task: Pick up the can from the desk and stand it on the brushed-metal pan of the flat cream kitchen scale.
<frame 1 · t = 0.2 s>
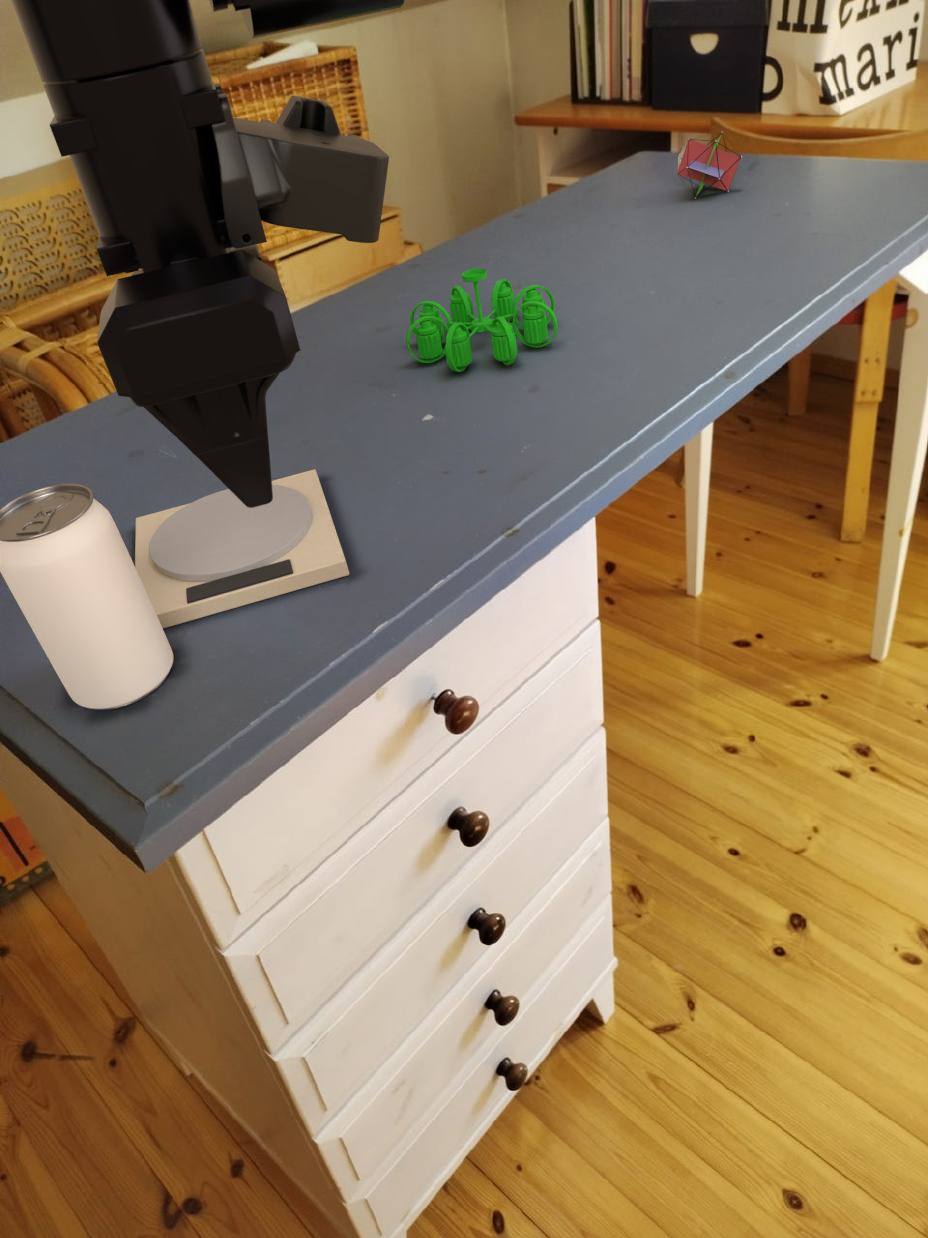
hand: (250, 457, 43), 16 cm above the table, tool pointing down, fingers open, 9 cm apart
scale: (238, 551, 68), on the table
geometric puzzle: (708, 194, 118), on the table
can: (125, 679, 58), on the table
chandelier: (485, 347, 91), on the table
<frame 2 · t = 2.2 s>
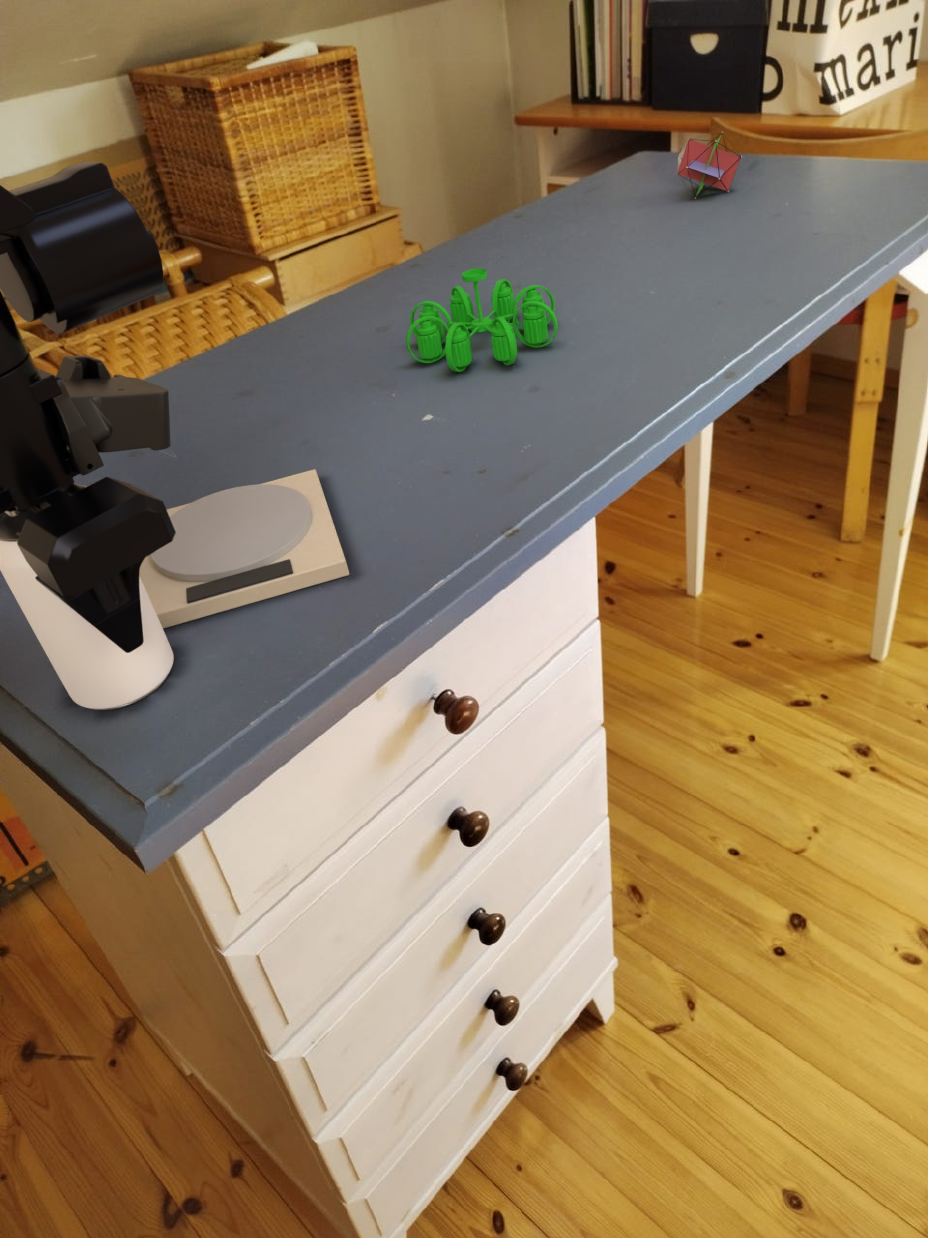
hand: (97, 621, 55), 4 cm above the table, tool pointing down
can: (125, 680, 58), on the table, touching gripper
everything else where it was.
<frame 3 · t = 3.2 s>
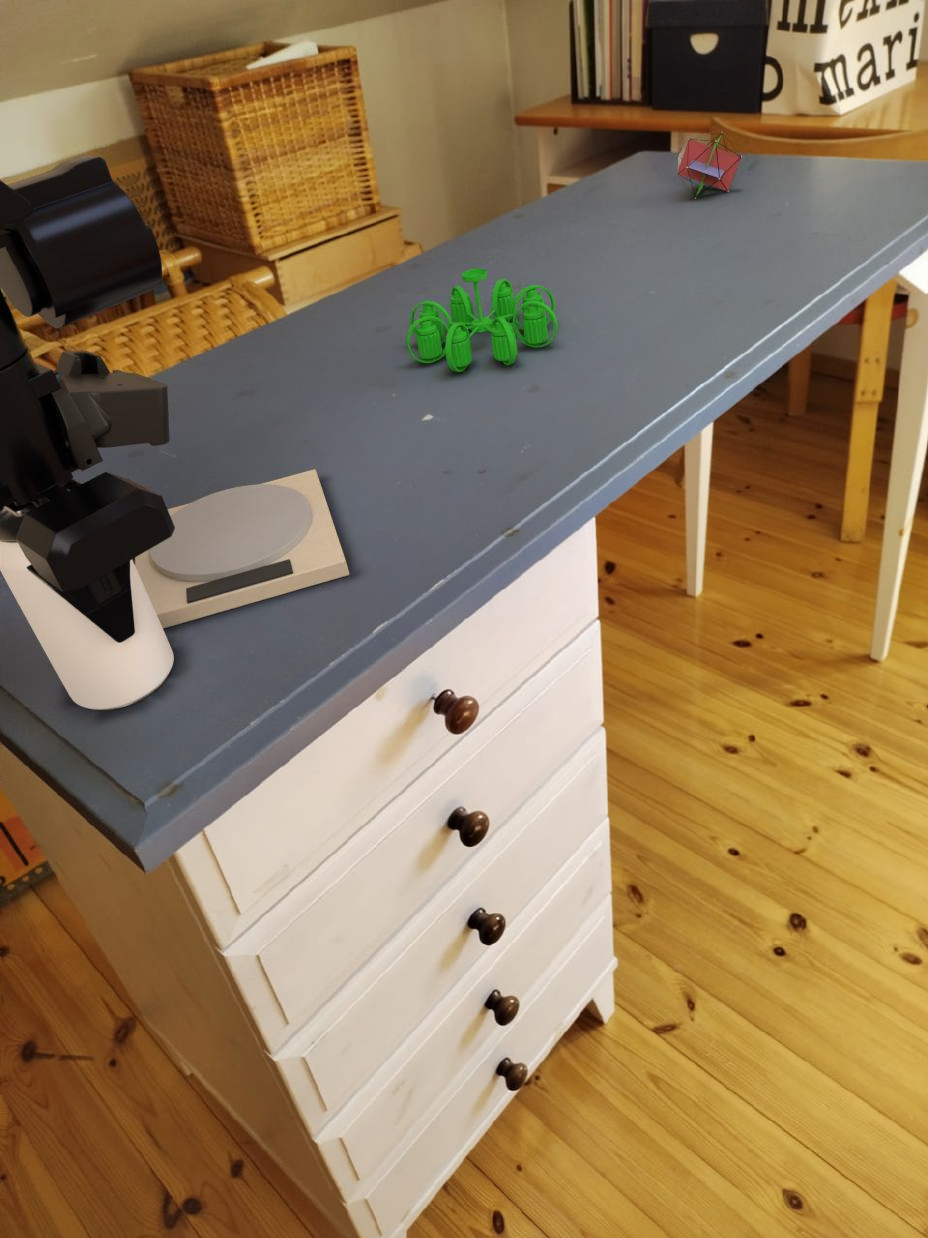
hand: (96, 616, 55), 5 cm above the table, tool pointing down, fingers closed on can, 7 cm apart
can: (125, 680, 58), on the table, touching gripper
everything else where it was.
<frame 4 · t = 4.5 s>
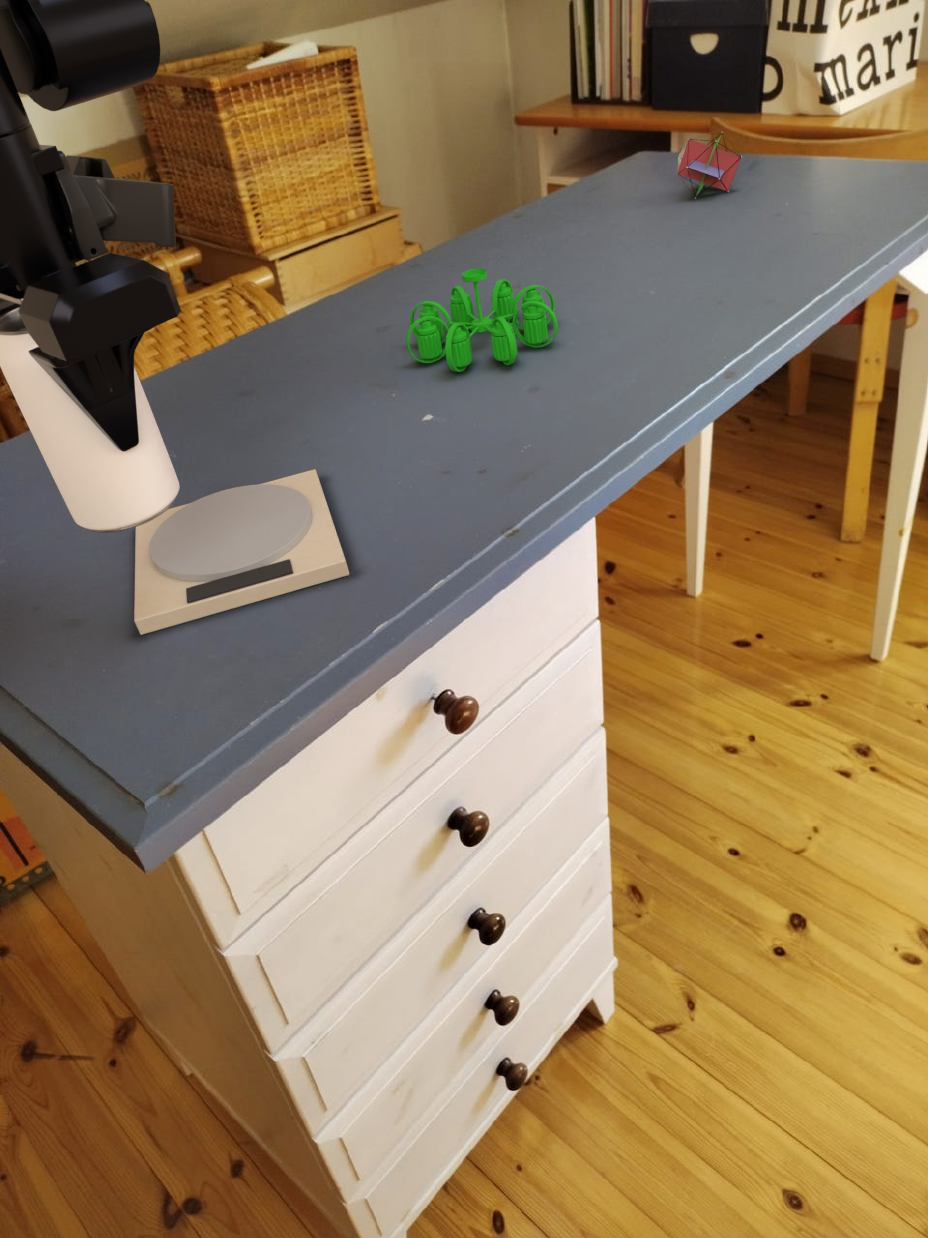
hand: (101, 434, 54), 13 cm above the table, tool pointing down, fingers closed on can, 6 cm apart
can: (130, 508, 57), point 8 cm above the table, touching gripper
everything else where it was.
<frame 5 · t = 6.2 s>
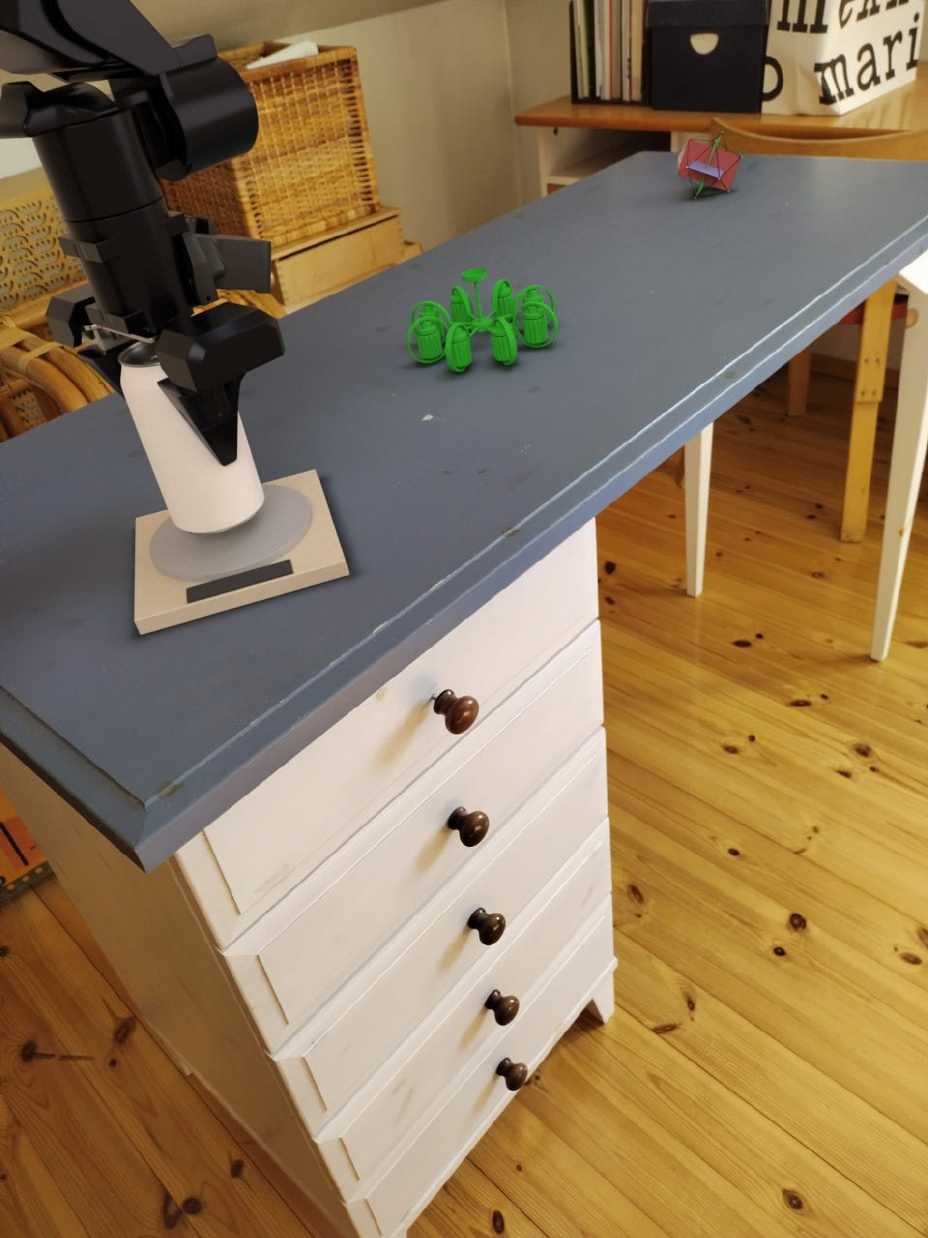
hand: (201, 451, 63), 8 cm above the table, tool pointing down, fingers closed on can, 6 cm apart
can: (221, 514, 66), point 3 cm above the table, touching gripper
everything else where it was.
when the fingers open (7 cm above the table, at t = 7.1 s): can stays where it is, resting on scale.
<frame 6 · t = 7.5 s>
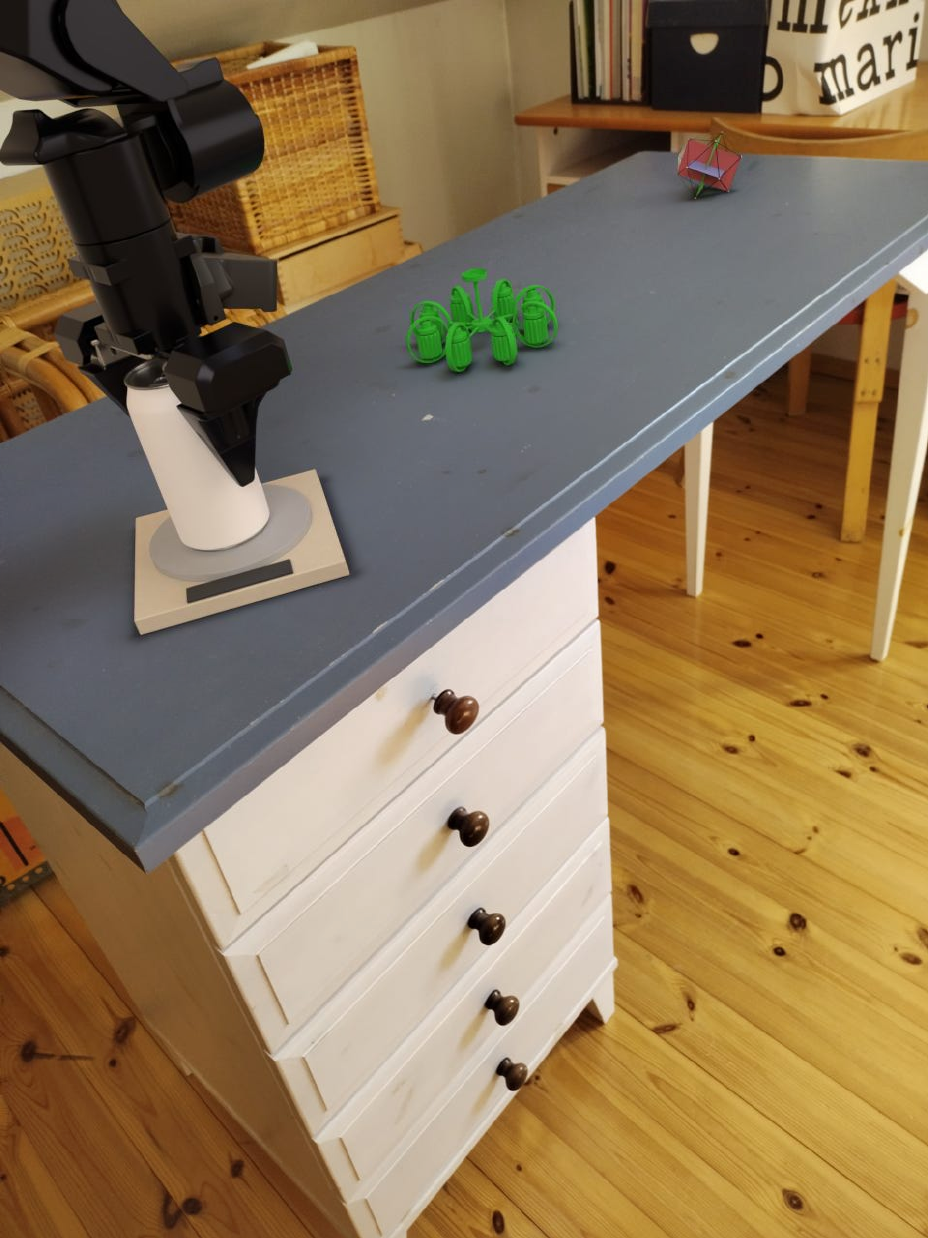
hand: (208, 466, 64), 7 cm above the table, tool pointing down, fingers open, 9 cm apart
can: (227, 530, 67), point 2 cm above the table, touching scale
everything else where it was.
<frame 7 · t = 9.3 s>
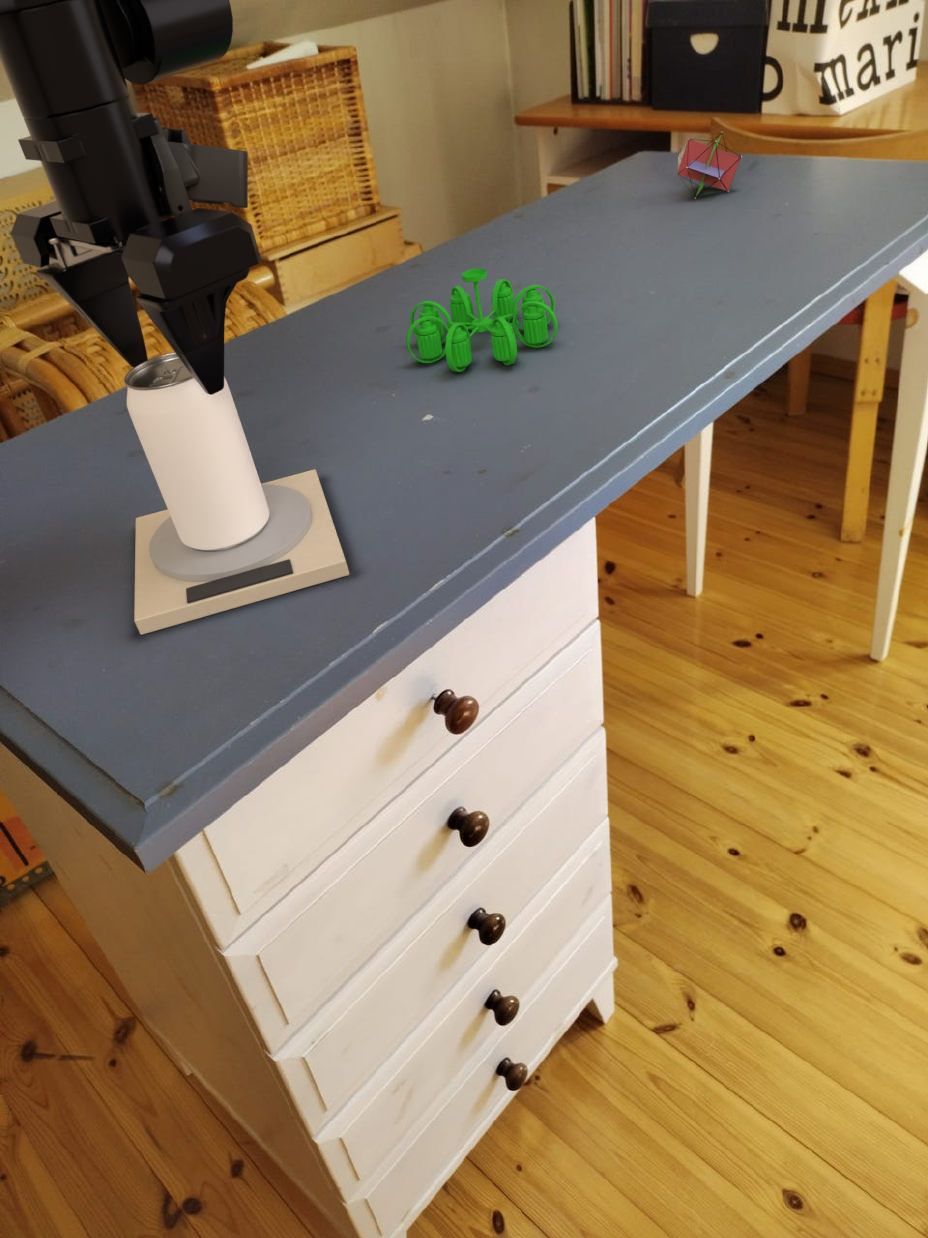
hand: (176, 377, 60), 13 cm above the table, tool pointing down, fingers open, 9 cm apart
nothing on the table moved.
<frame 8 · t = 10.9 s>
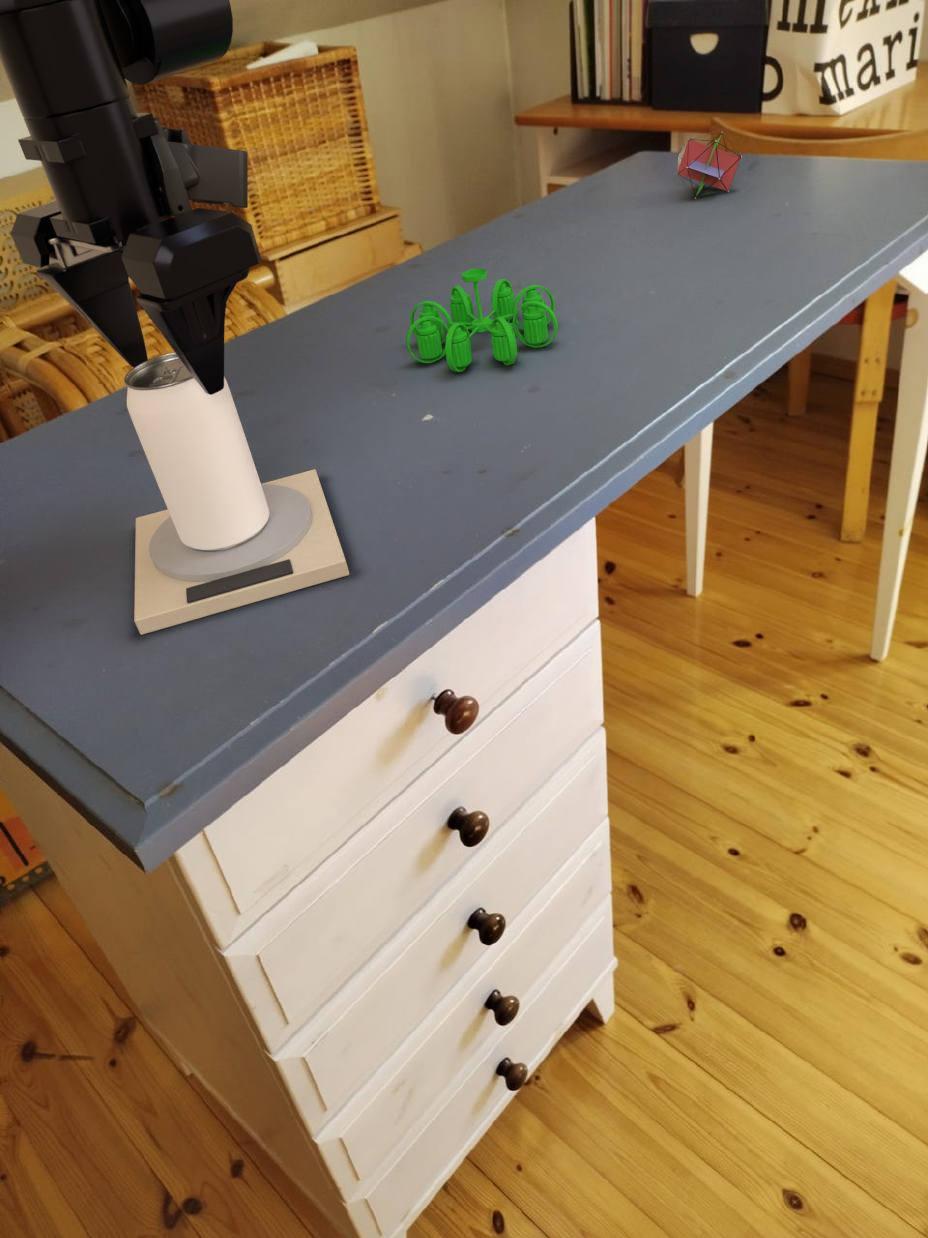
hand: (176, 377, 60), 13 cm above the table, tool pointing down, fingers open, 9 cm apart
nothing on the table moved.
at the end: can inside the target area on the scale (0.4 cm from its centre), point 1.6 cm above the scale's base; can tilted 0°; the gripper is holding nothing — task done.
